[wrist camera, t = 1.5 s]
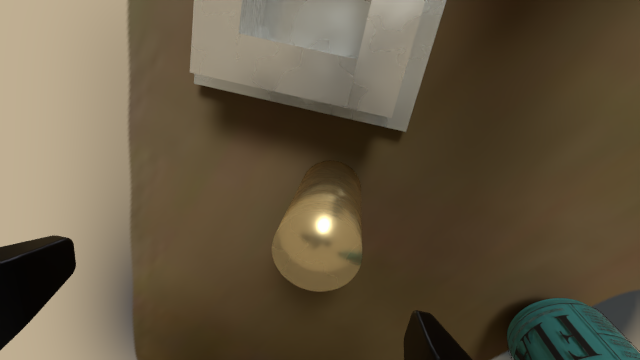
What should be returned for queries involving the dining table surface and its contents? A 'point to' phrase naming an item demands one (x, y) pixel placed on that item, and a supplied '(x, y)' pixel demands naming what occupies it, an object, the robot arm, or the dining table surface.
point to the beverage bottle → (566, 333)
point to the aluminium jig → (318, 53)
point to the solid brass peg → (322, 229)
